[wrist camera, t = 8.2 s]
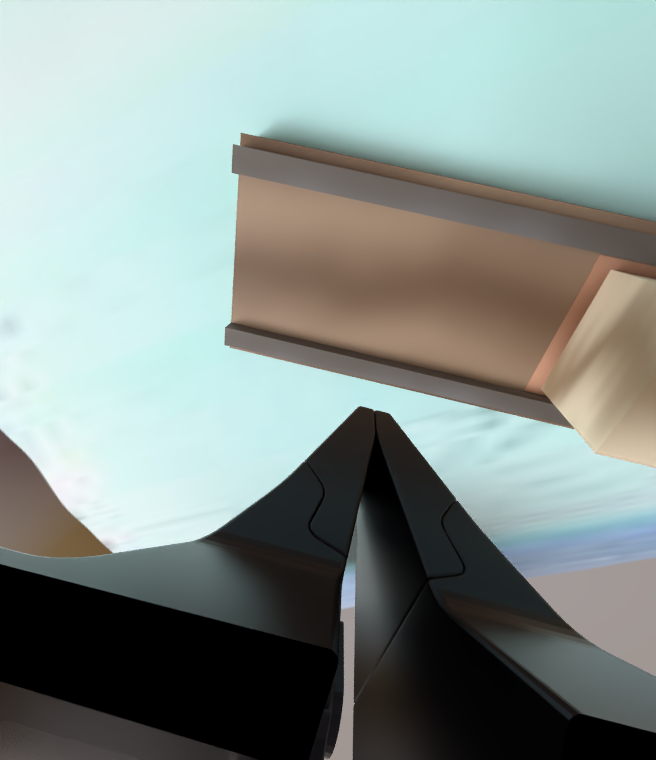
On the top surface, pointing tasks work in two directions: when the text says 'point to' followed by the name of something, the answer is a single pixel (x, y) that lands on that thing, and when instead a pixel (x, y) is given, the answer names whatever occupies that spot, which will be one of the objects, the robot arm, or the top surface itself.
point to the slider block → (612, 371)
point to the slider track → (417, 274)
